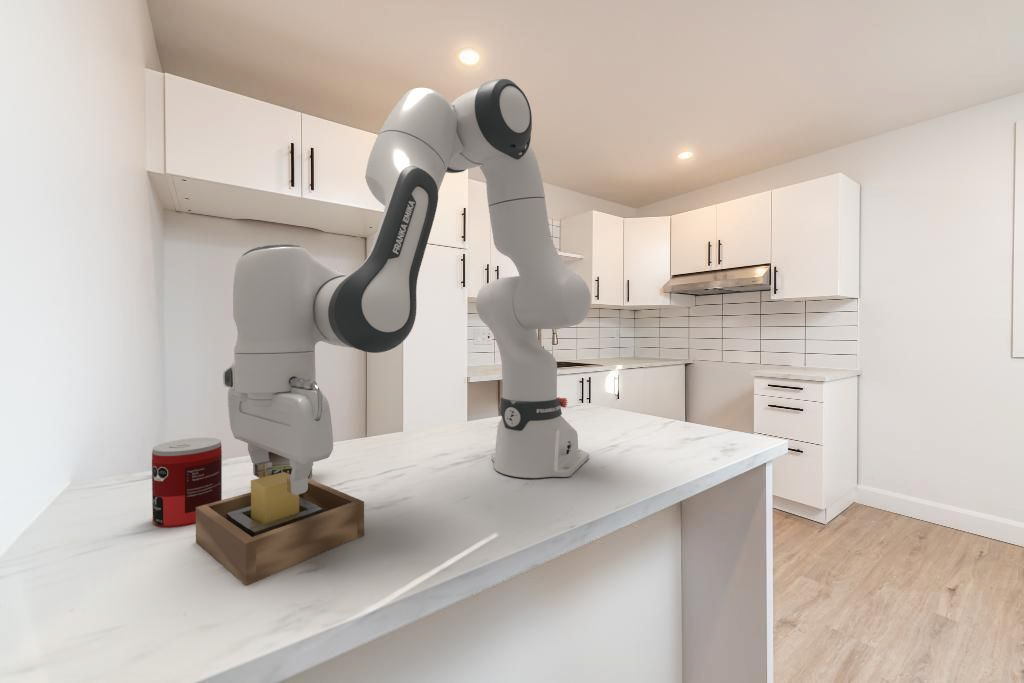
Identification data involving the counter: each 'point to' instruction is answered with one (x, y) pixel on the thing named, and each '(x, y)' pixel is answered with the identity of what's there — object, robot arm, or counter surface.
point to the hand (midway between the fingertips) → (279, 484)
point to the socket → (252, 528)
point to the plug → (272, 499)
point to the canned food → (185, 479)
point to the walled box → (278, 533)
